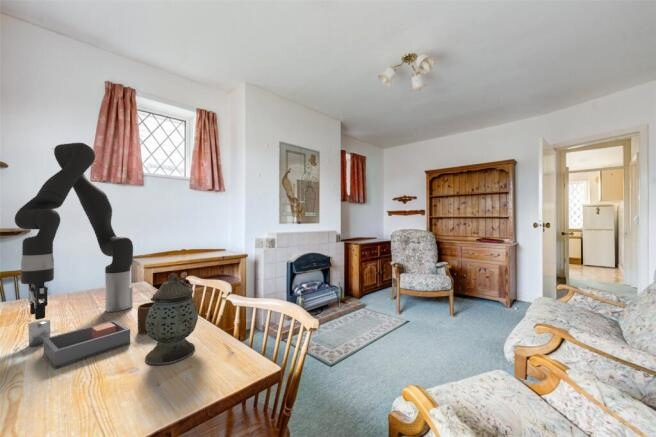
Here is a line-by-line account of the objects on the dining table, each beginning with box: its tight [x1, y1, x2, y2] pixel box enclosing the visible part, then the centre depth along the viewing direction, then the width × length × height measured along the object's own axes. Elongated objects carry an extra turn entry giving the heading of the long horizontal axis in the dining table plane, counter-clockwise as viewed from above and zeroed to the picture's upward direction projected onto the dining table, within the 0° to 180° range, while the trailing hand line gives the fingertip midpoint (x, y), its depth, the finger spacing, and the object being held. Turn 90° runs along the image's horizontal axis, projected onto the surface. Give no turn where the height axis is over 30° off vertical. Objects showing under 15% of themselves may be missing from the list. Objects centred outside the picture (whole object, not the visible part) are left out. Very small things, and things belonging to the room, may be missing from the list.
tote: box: [42, 319, 131, 370], centre depth 87 cm, size 18×14×5 cm
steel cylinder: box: [27, 319, 51, 348], centre depth 91 cm, size 5×5×7 cm
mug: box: [137, 301, 155, 334], centre depth 100 cm, size 12×8×9 cm, turn 59°
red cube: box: [92, 323, 116, 339], centre depth 90 cm, size 5×5×5 cm
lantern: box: [144, 272, 199, 367], centre depth 84 cm, size 14×14×25 cm
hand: (37, 316), depth 90 cm, fingers open, 8 cm apart
